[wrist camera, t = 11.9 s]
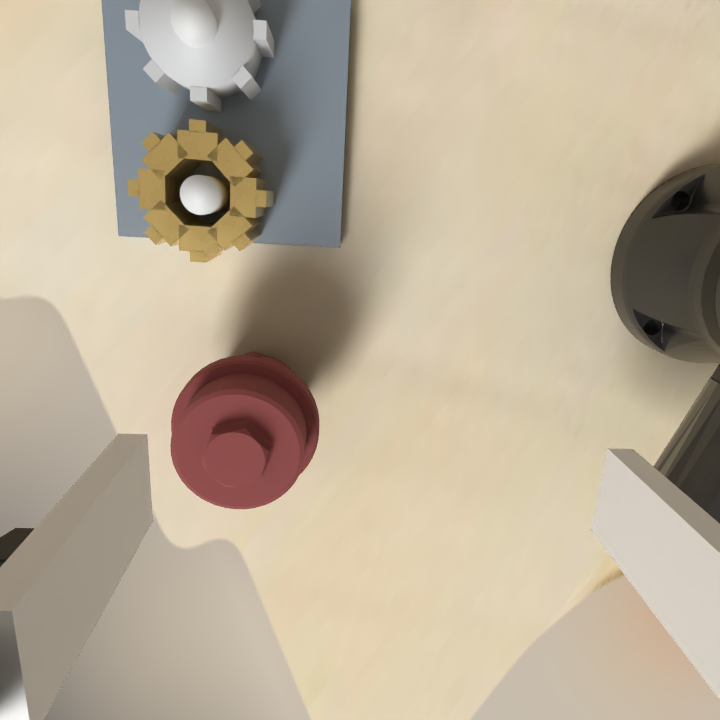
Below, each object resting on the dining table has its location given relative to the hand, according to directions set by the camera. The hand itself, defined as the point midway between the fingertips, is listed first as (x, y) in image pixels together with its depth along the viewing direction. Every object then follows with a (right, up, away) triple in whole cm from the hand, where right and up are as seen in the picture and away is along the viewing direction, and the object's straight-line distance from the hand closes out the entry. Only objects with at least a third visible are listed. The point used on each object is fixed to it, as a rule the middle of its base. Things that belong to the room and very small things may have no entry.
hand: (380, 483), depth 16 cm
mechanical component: (-9, +1, +30) cm, 31 cm away
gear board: (-10, +20, +23) cm, 32 cm away
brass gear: (-11, +15, +23) cm, 30 cm away
